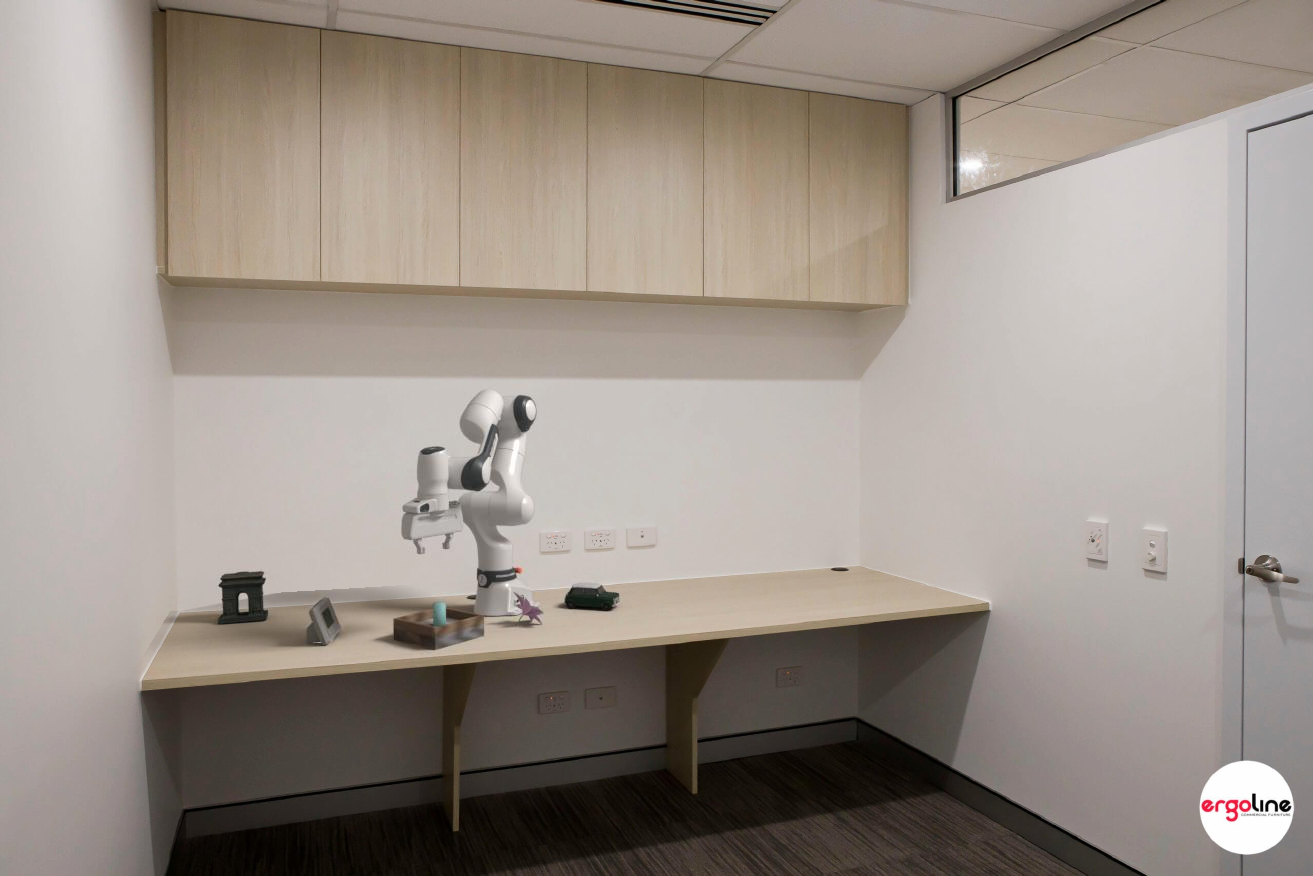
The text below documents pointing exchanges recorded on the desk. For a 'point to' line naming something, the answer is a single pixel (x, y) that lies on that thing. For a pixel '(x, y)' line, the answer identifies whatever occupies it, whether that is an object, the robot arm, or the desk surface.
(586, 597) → the miniature car
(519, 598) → the lily
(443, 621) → the peg
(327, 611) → the digital clock
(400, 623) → the bore box
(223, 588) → the model
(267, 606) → the desk surface
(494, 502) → the robot arm
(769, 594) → the desk surface
